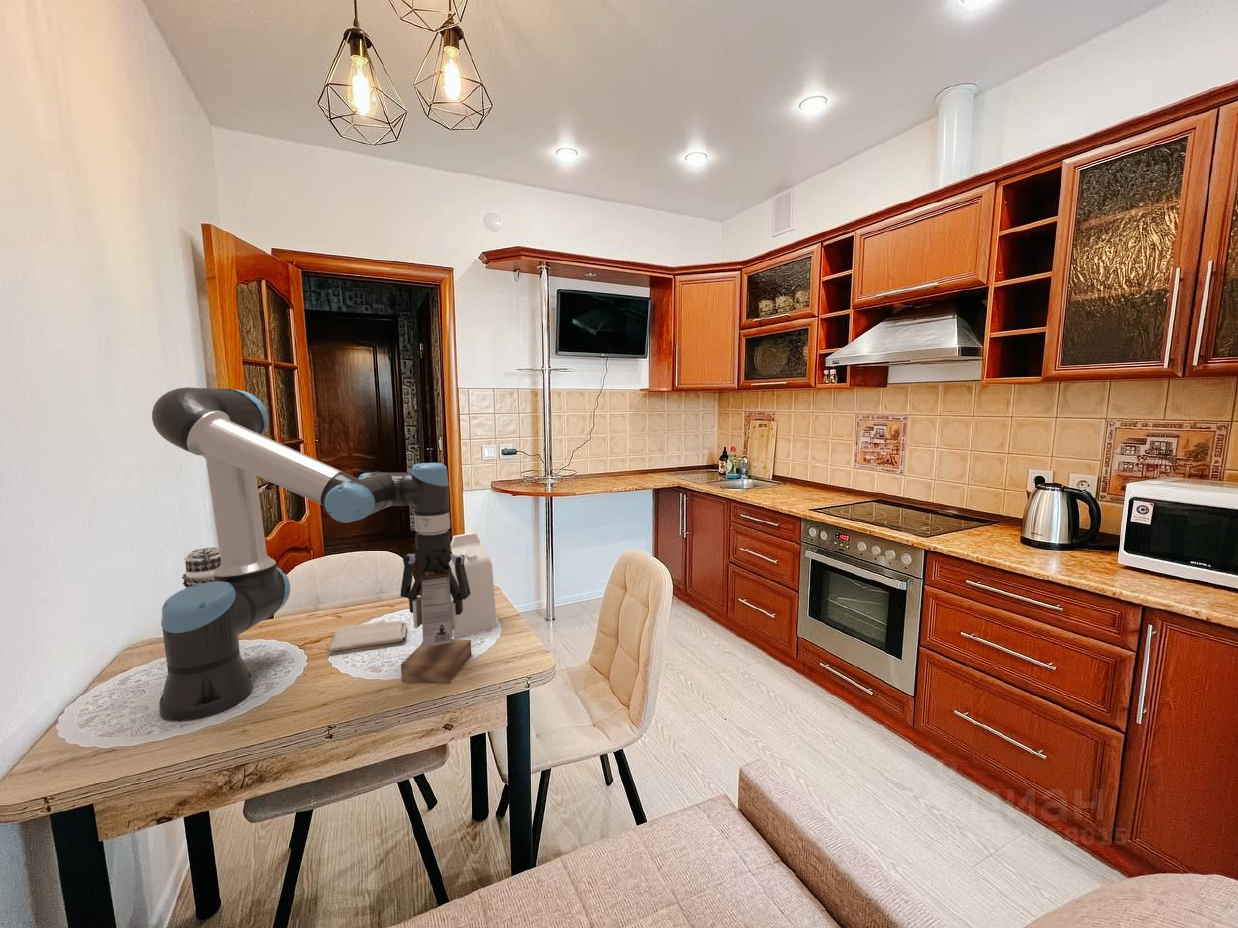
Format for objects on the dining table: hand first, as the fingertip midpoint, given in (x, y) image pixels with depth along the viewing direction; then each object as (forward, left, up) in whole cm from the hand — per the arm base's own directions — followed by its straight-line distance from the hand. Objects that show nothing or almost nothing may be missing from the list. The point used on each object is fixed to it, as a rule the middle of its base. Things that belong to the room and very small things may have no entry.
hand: (437, 626), depth 118 cm
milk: (-2, +23, -10) cm, 25 cm away
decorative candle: (-62, +5, -10) cm, 63 cm away
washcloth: (-24, +12, -11) cm, 29 cm away
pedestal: (0, 0, -10) cm, 10 cm away
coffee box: (0, 0, -3) cm, 3 cm away
